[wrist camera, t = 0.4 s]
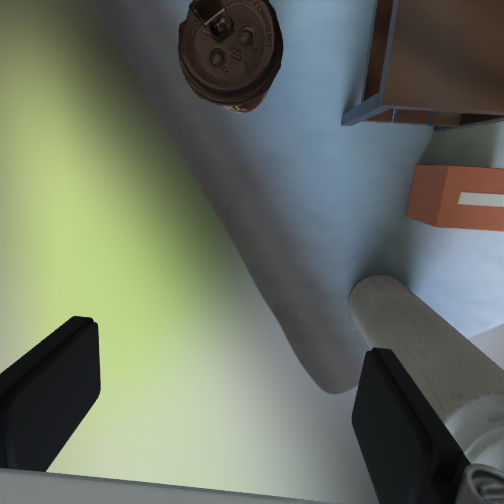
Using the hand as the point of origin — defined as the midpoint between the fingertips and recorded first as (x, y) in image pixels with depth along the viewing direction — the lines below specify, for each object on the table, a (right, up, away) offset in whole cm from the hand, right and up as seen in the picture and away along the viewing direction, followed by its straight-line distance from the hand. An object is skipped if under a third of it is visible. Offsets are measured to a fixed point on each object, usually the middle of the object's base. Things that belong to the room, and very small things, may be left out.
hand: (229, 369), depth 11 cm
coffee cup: (-1, +24, +25) cm, 34 cm away
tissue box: (+25, +11, +27) cm, 39 cm away
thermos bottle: (+18, -3, +32) cm, 37 cm away
